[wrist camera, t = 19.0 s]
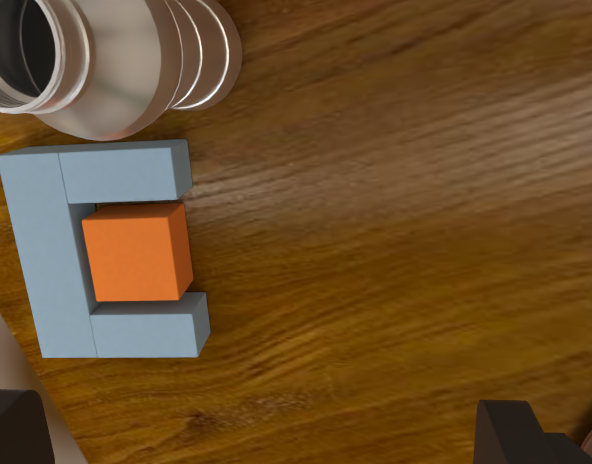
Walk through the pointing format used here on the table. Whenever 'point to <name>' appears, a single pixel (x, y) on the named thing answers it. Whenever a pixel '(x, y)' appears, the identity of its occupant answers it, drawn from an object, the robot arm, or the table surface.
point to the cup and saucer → (588, 444)
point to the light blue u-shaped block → (73, 252)
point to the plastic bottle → (114, 61)
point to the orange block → (139, 252)
